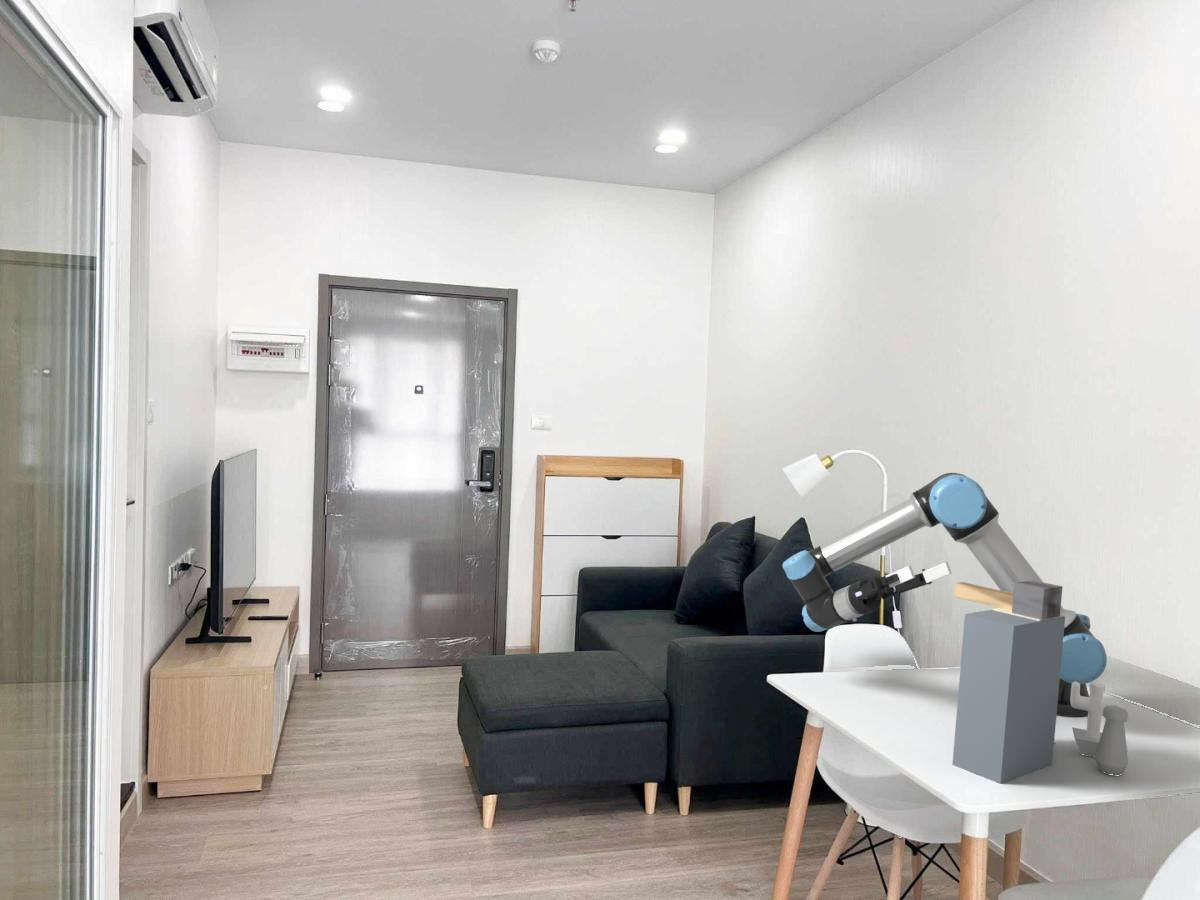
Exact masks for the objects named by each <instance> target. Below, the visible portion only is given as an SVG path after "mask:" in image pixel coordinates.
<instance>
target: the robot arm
mask: <svg viewBox="0 0 1200 900" xmlns="http://www.w3.org/2000/svg"><path fill="white" fill-rule="evenodd" d="M999 515H1000V513H999V511H998V509H996V507H995V506H994V505H993V503H992V501H990V500H989V498H988V497H987V495H986V493H985V490H984V489H983V487H982V486H981V485H980V484H979V483H978V482H977V481H975V480H974V479H972V478H970V477H968V476H967V475H965V474H961V473H960V472H959V473H957V472H946V473H943V474H941V475H939V476H938V477H936V478H935V479H933V480H931V481H930V482H928V483H927V484H926V485H924V486H922V487H921V488H919V489H917V490H915V491H914V492H912V493H910V496H909V499H907V500H905V501H903V502H901V503H900V504H897V505H895V506H894V507H892V508H889V509H888V510H886V511H884V512H882V513H880V514H878V515H876V516H874V517H873V518H870V519H869V520H867V521H864V522H863V523H861V524H858V525H857V526H856V527H853V528H851V529H849V530H847V531H845V532H843V533H842V534H840V535H838V536H835V537H834V538H832V539H830V540H828V541H826V542H824V543H823V544H821V545H818V546H817V547H815V548H813V549H811V550H809V551H808V550H805V549H804V550H801V551H799V552H797V553H795V554H794V555H792V556H790V557H788V558H787V559H785V561H783V562H782V569H783V571H784V573H785V574H786V577H787V579H789V581H790V582H791V583H792V586H793V587H794V588H795V591H797V593H798V595H799V596H800V598H801V599H802V601H803V604H804V605H803V607H802V611H801V615H802V618H803V622H804V624H805V626H806V627H807V628H808V629H810V630H811V631H812V632H816V633H817V632H818V633H819V632H823V631H827V630H832V629H833V628H835V627H838V626H840V625H842V624H845V623H848V622H850V621H853V622H857V620H858V619H857V618H860V617H862V616H864V615H868V614H870V613H874V612H876V611H878V609H879V608H880V607H881V603H882V600H887V599H890V597H895V596H897V595H900V594H902V593H905V592H909V591H911V590H914V589H918V588H921V587H924V586H927V585H931V584H932V583H933V581H936V580H940V579H941V578H943V577H946V576H948V575H952V570H951V567H950V565H949V563H948V561H945V562H942V563H940V564H938V565H935V566H932V567H931V568H928V569H926V568H922V569H921V571H922V572H921V573H918V574H917V573H916V574H914V573H915V572H914V570H913V568H912V566H911V565H907V566H905V567H902V568H900V569H898V570H895V571H892V572H891V573H889V574H886V575H885V576H879V578H876V577H873V578H872V579H870V580H868V579H862V580H858V581H857V582H854V583H852V584H850V585H847V586H844V587H843V588H840V589H837V590H836V591H834V590H833V589H832V586H831V585H830V583H829V582H828V581H827V578H826V577H828V576H830V575H831V574H833V573H835V572H837V571H838V570H840V569H842V568H844V567H846V566H848V565H850V564H852V563H854V562H856V561H859V560H861V559H862V558H865V557H866V556H869V555H870V554H872V553H874V552H876V551H878V550H880V549H882V548H885V547H886V546H888V545H890V544H893V543H895V542H896V541H898V540H900V539H902V538H904V537H906V536H908V535H910V534H913V533H914V532H916V531H918V530H920V529H923V528H924V527H928V528H933V527H936V526H937V525H939V524H941V525H942V526H943V527H944V529H945V530H946V531H947V533H948V534H949V535H950V537H951V538H952V539H953V540H954V542H956V543H961V544H962V543H963V544H964V545H966V546H967V548H968V549H969V551H970V552H971V553H972V554H973V556H974V558H976V560H977V561H978V563H980V565H981V566H982V568H983V569H984V571H986V574H988V576H989V577H990V579H992V582H994V583H995V585H996V586H997V587H998V590H1002V591H1006V592H1011V593H1014V583H1017V582H1025V581H1032V580H1034V581H1039V582H1044V580H1043V579H1042V578H1041V577H1040V576H1039V574H1038V573H1037V572H1036V570H1034V568H1033V567H1032V565H1031V564H1030V563H1029V562H1028V560H1027V559H1026V557H1024V555H1023V553H1022V552H1021V551H1020V550H1019V548H1018V547H1017V546H1016V545H1015V543H1014V542H1013V541H1012V539H1011V538H1010V537H1009V535H1008V534H1007V533H1006V532H1005V530H1004V529H1003V528H1002V526H1001V525H1000V523H999V517H1000V516H999ZM1060 615H1063V616H1065V625H1064V637H1063V648H1062V659H1061V670H1060V681H1059V693H1058V704H1057V715H1058V716H1063V717H1085V715H1086V716H1088V711H1086V710H1081V709H1075V708H1073V707H1072V706H1071V703H1070V697H1071V686H1072V683H1073V682H1078V683H1079V684H1080V696H1084V697H1089V696H1090V693H1089V691H1088V690H1089V689H1088V687H1087V684H1090V682H1092V681H1097V679H1098V678H1100V676H1102V675H1103V673H1104V671H1105V670H1106V667H1107V662H1108V657H1107V652H1106V649H1105V647H1104V645H1103V644H1102V642H1101V641H1100V640H1099V639H1097V638H1096V637H1095V636H1094V634H1093V633H1092V632H1091V631H1090V629H1091V619H1090V617H1089V616H1088V615H1086V614H1081V613H1077V612H1075V610H1070V609H1065V608H1064V607H1063V606H1062V605H1061V609H1060ZM1057 715H1056V716H1057Z"/></svg>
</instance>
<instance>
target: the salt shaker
mask: <svg viewBox="0 0 1200 900" xmlns="http://www.w3.org/2000/svg"><path fill="white" fill-rule="evenodd" d="M1102 716H1103V717H1104V719H1105V721H1104V725H1103V729H1102V732H1101V733H1102V735H1101V738H1100V741H1099V744H1098V748H1097V751H1096V754H1095V757H1094V761H1095V764H1096V765H1097V767H1098V769H1099V770H1100V771H1102V772H1105V773H1107V774H1113V775H1120V774H1122V773H1123V774H1124V772H1125V770H1126V769H1128V766H1129V756H1128V746H1127V737H1126V730H1125V729H1126V727H1125V722H1127V720H1128V719H1129V712H1128V711H1127V710H1126V709H1125V707H1124V708H1123V707H1122V706H1121V707H1118V706H1111V705H1110V706H1106V707H1104V710H1103V713H1102ZM1100 771H1099V772H1100ZM1102 772H1101V773H1102ZM1105 773H1104V774H1105ZM1107 774H1106V775H1107ZM1123 774H1122V775H1123ZM1120 776H1121V775H1120Z"/></svg>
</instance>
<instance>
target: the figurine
mask: <svg viewBox="0 0 1200 900" xmlns="http://www.w3.org/2000/svg"><path fill="white" fill-rule="evenodd" d="M1088 690H1089V697H1084V696H1080V684H1079V683H1078V682H1073V683H1072V686H1071V697H1070V703H1071V706H1072V707H1073V708H1075V709H1081V710H1086V711H1088V715H1087V721H1086V722H1087V723H1086V729H1084V728H1083V729H1082V728H1080V727H1072V728H1071V729H1072V733H1073V737H1074V741H1075V744H1076V745H1077V747H1076V748H1077V750H1078V753H1079V755H1080V754H1084V755H1083V756H1085V755H1091V756H1095V754H1096V751H1097V748H1098V744H1099V741H1100V738H1101V735H1102V732H1101V723H1102V716H1103V710H1104V707H1106V706H1110V705H1111V706H1118V707H1121V708H1122V705H1121V704H1120V702H1117V701H1114V700H1108V699H1104V694H1105V693H1106V684H1104V683H1103V682H1102V681H1098V680H1094V681H1092V682H1090V683H1089V689H1088ZM1091 756H1090V757H1091Z"/></svg>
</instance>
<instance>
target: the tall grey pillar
mask: <svg viewBox="0 0 1200 900" xmlns="http://www.w3.org/2000/svg"><path fill="white" fill-rule="evenodd" d="M1064 625H1065V616H1063V615H1060V616H1059V617H1054V618H1049V619H1043V620H1040V619H1036V618H1031V617H1027V616H1023V615H1019V614H1014V613H1012V611H1011V610H1007V609H1002V608H998V607H995V608H992V609H987V610H982V611H976V612H969V613H964V621H963V631H962V632H963V633H962V643H961V644H962V646H961V657H960V659H961V660H960V670H959V681H958V691H957V692H958V694H957V703H956V704H957V705H956V717H955V718H956V719H955V727H954V729H955V730H954V743H953V751H952V752H953V753H952V754H953V755H952V766H955V767H958V768H961V769H963V770H965V771H968V772H970V773H973V774H974V775H978V776H980V777H983V778H986V779H988V780H990V781H992V782H996V783H998V784H1000V785H1001V784H1003V783H1005V782H1008V781H1011V780H1014V779H1016V778H1018V777H1021V776H1024V775H1027V774H1030V773H1033V772H1035V771H1038V770H1041V769H1044V768H1045V767H1049V766H1051V765H1053V760H1054V759H1053V758H1054V757H1053V755H1054V746H1055V744H1054V743H1055V738H1056V737H1055V735H1056V725H1057V724H1056V723H1057V704H1058V693H1059V681H1060V670H1061V659H1062V648H1063V637H1064Z"/></svg>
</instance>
